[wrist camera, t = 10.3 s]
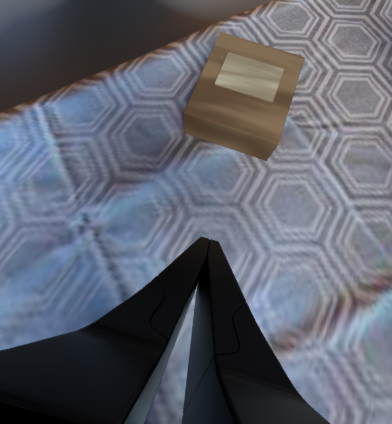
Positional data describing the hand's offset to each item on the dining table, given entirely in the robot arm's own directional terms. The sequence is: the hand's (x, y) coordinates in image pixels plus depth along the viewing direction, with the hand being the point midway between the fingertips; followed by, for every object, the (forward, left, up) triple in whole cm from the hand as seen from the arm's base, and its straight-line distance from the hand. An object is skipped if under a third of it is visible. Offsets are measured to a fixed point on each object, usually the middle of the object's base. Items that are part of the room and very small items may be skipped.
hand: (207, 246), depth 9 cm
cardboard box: (+4, -13, -12) cm, 19 cm away
